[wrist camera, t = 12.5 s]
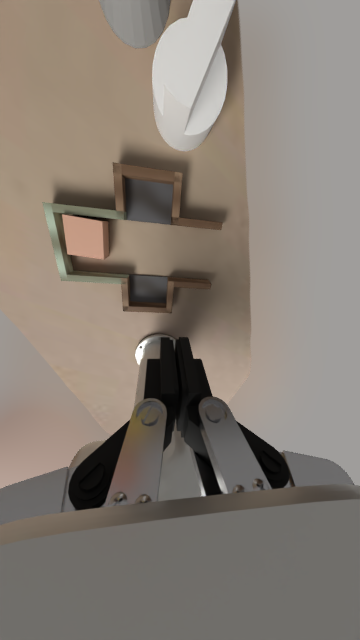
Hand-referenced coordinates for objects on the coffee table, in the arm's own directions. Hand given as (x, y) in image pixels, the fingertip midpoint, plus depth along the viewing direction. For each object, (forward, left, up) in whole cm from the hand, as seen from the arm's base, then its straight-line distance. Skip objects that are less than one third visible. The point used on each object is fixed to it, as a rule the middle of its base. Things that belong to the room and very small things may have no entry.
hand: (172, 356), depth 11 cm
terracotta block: (+4, +14, -29) cm, 32 cm away
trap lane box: (+2, +5, -29) cm, 30 cm away
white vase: (+22, -2, -29) cm, 37 cm away
